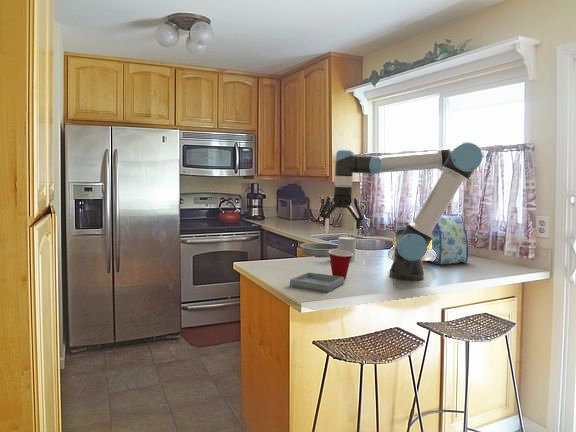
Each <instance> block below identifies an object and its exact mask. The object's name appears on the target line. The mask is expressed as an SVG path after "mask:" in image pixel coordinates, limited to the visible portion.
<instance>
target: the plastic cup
mask: <svg viewBox="0 0 576 432" xmlns="http://www.w3.org/2000/svg"><path fill="white" fill-rule="evenodd" d="M329 254H330V256H329V259H330V268H331V274H332V276H339V277H344V280H346V279H347V275H348V271H349V267H350V263H351V262H350V259H351V257H352V255H353V253H351V252H348V251H343V250H330V251H329Z"/></svg>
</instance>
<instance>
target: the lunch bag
mask: <svg viewBox="0 0 576 432" xmlns="http://www.w3.org/2000/svg"><path fill="white" fill-rule="evenodd" d="M432 236H433V238H432V249H433V250H434V251H435V252H436V254H437V257H436V259H435V260H434V261H433V262H432V263H434V264H435V265H450V264H452V263H453V264H461V263H460V262H464V263H468V260H469V241H468V235H467V231H466V226H465V222H464V218H463V216H462V215H460V214H455V213H452V214H442V216H441V218H440V219H439V221H438V223H437V224H436V226H435V227H434V229H433V231H432Z"/></svg>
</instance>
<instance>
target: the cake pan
mask: <svg viewBox="0 0 576 432" xmlns="http://www.w3.org/2000/svg"><path fill="white" fill-rule="evenodd" d="M299 247H300V248H301V253H302V254H304V255H307V256H314V257H330V254H329V251H330V250H338V244H335V243H325V242H308V243H307V242H305V243H300V244H299Z"/></svg>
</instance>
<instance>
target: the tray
mask: <svg viewBox="0 0 576 432" xmlns="http://www.w3.org/2000/svg"><path fill="white" fill-rule="evenodd" d="M344 284H345V279H344V277H339V276H332V275H331V274H325V273H317V272H310V271H308V272H304V273H302V274H300V275H297V276H296V277H292V278H290V279H289V287H290V288H296V289H302V290H308V291H314V292H320V293H327V294H328V293H330V292H332V291H334V290H336V289H338V288H339V287H341V286H343V285H344Z"/></svg>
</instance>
